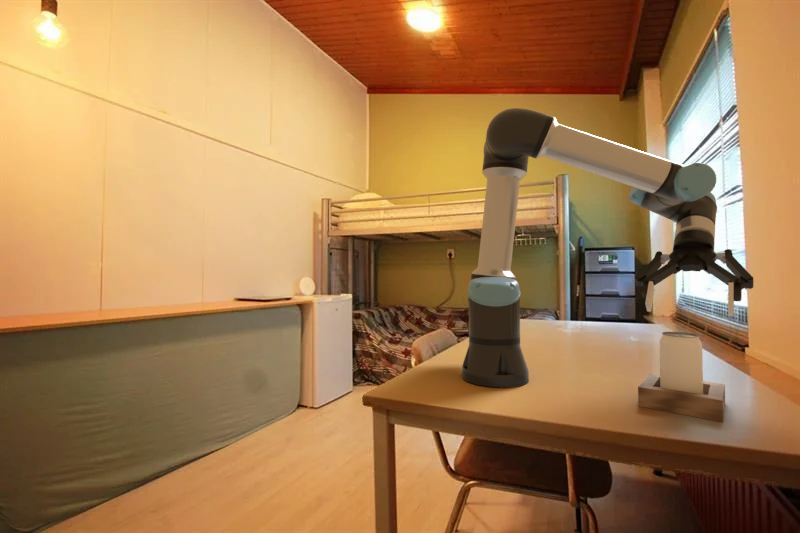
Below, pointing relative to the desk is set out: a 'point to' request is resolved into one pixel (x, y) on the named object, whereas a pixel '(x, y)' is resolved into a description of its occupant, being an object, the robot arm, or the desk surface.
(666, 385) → the can
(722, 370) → the desk surface
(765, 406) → the desk surface
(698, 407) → the holder
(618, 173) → the robot arm
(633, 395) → the desk surface
